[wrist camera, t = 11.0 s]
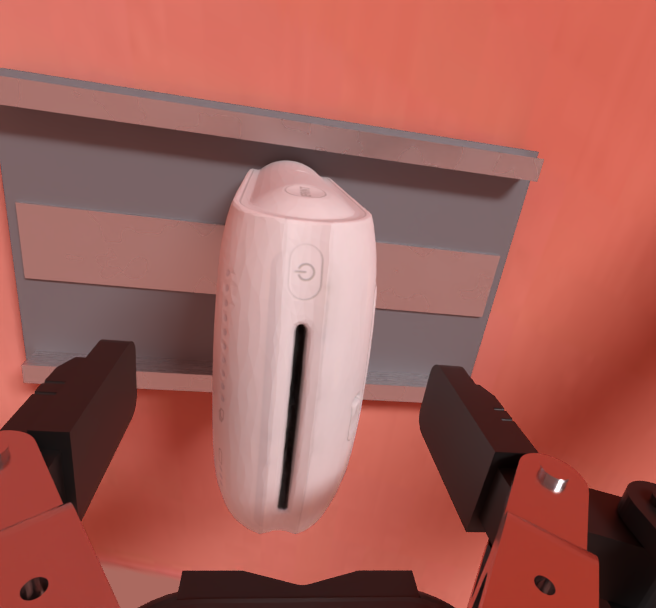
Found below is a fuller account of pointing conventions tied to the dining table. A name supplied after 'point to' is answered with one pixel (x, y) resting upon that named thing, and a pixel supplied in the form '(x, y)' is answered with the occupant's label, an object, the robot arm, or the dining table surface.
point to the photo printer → (290, 344)
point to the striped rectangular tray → (205, 238)
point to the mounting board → (212, 207)
